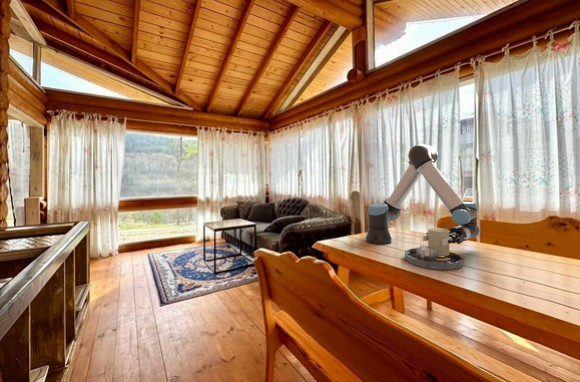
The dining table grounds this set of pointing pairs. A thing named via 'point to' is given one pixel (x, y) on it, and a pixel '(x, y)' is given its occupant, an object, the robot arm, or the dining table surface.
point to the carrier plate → (434, 265)
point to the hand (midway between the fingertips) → (432, 240)
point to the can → (438, 240)
